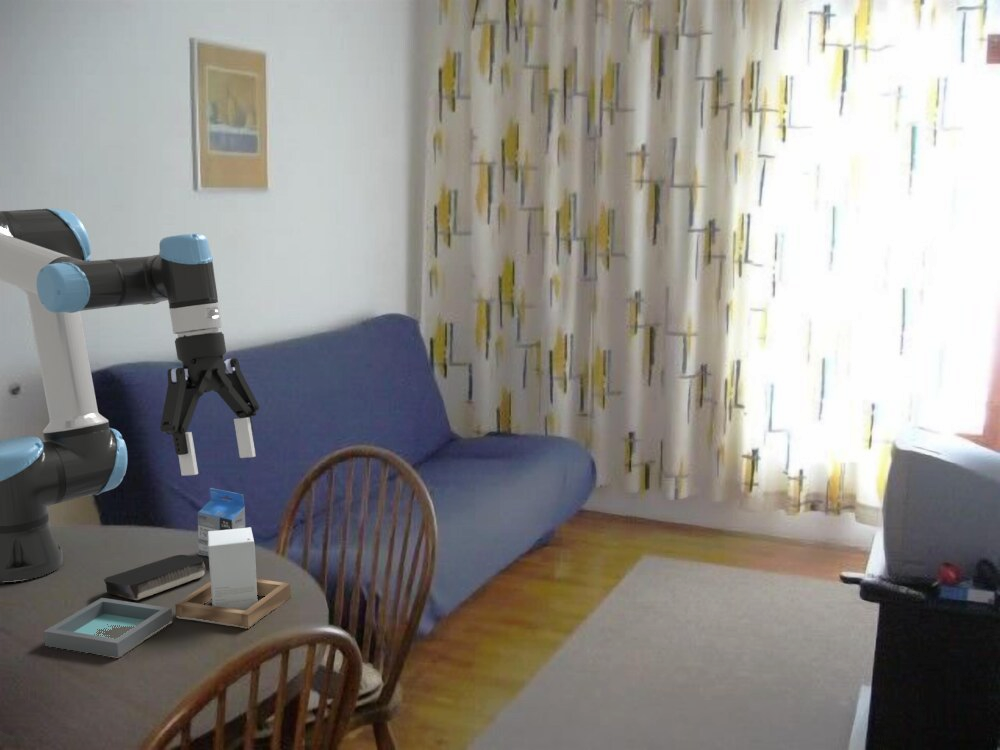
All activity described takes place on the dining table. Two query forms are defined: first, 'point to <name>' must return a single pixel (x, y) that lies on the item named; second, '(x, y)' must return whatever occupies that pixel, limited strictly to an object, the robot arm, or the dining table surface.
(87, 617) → the grey teal square tray
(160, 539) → the dining table surface
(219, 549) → the supplement box
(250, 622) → the wooden picture frame
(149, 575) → the black scrub brush
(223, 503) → the label tape box
